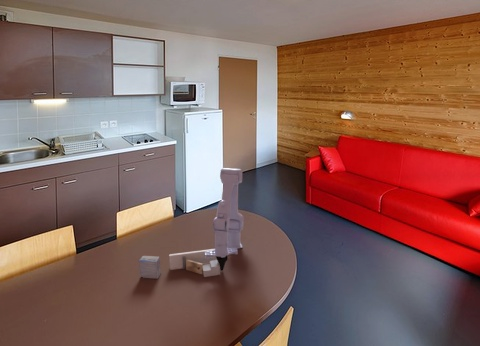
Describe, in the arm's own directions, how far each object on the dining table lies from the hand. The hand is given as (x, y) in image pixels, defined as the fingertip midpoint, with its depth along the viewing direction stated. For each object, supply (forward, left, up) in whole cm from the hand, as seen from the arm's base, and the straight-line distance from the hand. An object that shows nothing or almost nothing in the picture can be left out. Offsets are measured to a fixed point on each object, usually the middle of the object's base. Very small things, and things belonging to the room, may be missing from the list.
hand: (221, 269), depth 139 cm
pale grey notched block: (0, -5, -1) cm, 5 cm away
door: (-3, -12, -1) cm, 13 cm away
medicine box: (-5, -31, -1) cm, 31 cm away
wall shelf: (-8, -12, -1) cm, 14 cm away
